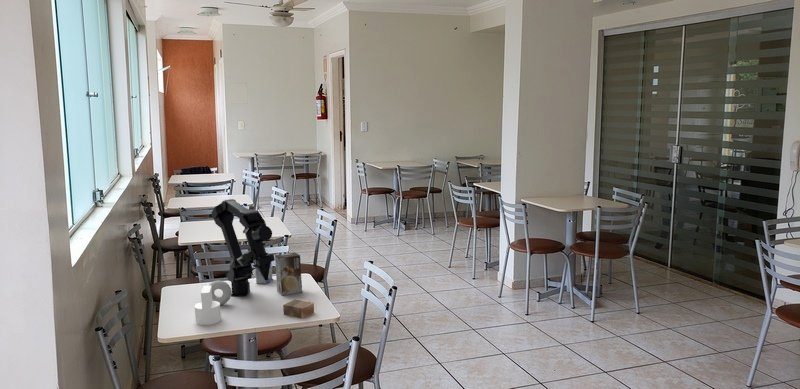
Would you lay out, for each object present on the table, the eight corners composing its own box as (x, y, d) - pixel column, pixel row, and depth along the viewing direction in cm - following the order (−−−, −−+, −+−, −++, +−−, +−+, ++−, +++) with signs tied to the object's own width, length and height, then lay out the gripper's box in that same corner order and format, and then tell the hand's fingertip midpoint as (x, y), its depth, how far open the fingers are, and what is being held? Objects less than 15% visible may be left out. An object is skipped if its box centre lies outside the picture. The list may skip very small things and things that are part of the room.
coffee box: (297, 288, 265) (295, 251, 262) (302, 292, 259) (301, 255, 257) (276, 291, 261) (274, 254, 258) (281, 295, 255) (279, 258, 253)
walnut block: (283, 304, 232) (302, 308, 228) (294, 299, 239) (313, 302, 234) (283, 314, 233) (302, 318, 229) (295, 309, 239) (314, 312, 235)
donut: (232, 302, 247) (231, 278, 246) (232, 305, 244) (230, 281, 243) (206, 304, 246) (205, 280, 244) (205, 307, 242) (204, 282, 241)
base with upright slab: (220, 323, 225) (218, 291, 223) (194, 325, 223) (192, 293, 221) (221, 315, 233) (219, 284, 231) (196, 317, 231) (194, 286, 229)
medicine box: (265, 284, 272) (264, 265, 270) (255, 283, 272) (254, 264, 271) (272, 278, 279) (271, 260, 278) (263, 278, 280) (262, 259, 279)
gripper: (230, 248, 248) (241, 285, 249) (241, 248, 232) (252, 288, 233) (257, 240, 253) (267, 276, 254) (269, 239, 237) (280, 278, 238)
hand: (266, 280), depth 244 cm, fingers closed
